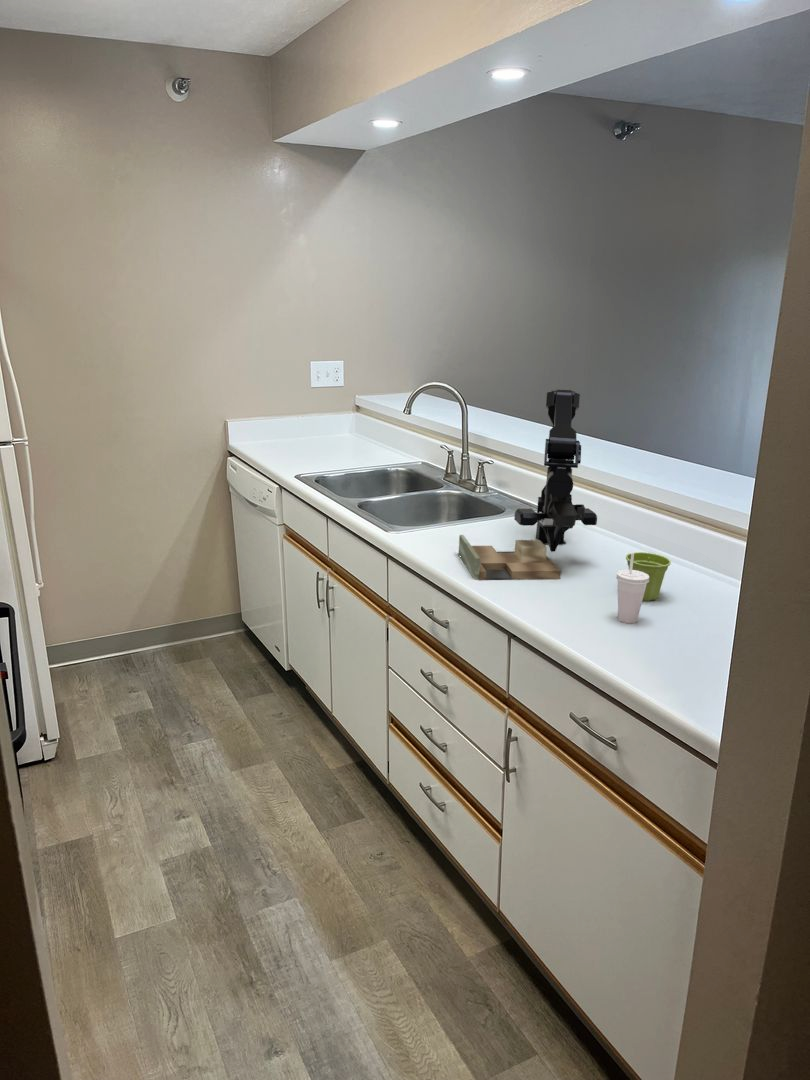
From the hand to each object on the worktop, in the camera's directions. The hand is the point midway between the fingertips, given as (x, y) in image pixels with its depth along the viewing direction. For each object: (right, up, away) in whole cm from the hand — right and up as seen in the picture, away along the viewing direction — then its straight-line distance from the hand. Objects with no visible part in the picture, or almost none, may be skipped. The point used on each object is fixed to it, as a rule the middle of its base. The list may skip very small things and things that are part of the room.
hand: (552, 551), depth 195 cm
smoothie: (+9, -14, -31) cm, 36 cm away
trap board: (-11, -3, 0) cm, 11 cm away
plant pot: (+17, -10, -18) cm, 26 cm away
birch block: (-6, -1, 0) cm, 6 cm away
